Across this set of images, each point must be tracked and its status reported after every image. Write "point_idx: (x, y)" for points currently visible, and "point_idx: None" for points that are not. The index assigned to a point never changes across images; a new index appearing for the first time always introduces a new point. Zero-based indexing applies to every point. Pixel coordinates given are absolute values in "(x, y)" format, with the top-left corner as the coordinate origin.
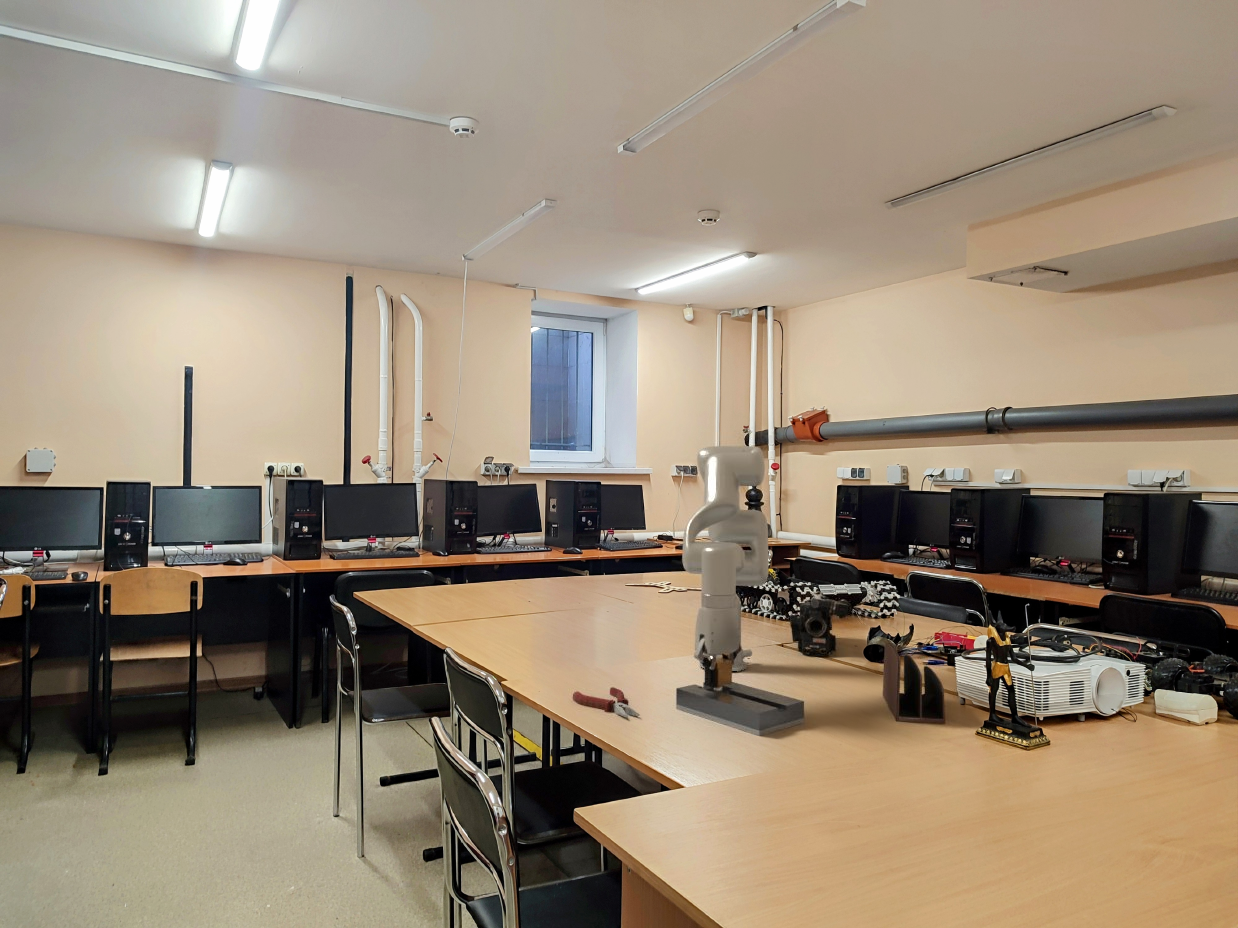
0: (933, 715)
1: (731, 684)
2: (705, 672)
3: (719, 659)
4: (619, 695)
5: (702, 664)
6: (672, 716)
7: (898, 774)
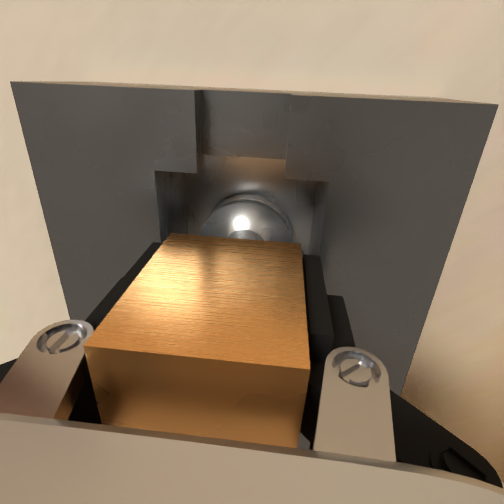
0: None
1: (385, 266)
2: (93, 316)
3: (237, 422)
4: None
5: (7, 365)
6: (10, 164)
7: None
